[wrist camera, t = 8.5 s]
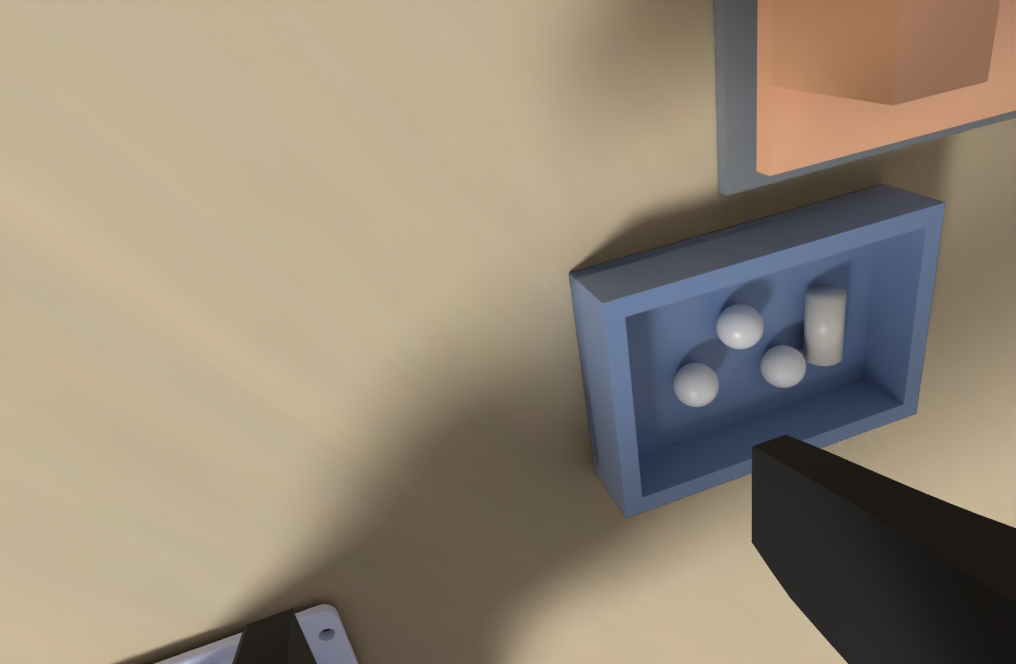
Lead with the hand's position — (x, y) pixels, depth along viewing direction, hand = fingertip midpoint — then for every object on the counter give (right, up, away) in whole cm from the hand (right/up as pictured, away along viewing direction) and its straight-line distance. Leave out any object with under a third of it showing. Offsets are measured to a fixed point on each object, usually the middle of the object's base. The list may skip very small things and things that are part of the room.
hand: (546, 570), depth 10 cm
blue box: (+7, +4, +13) cm, 15 cm away
